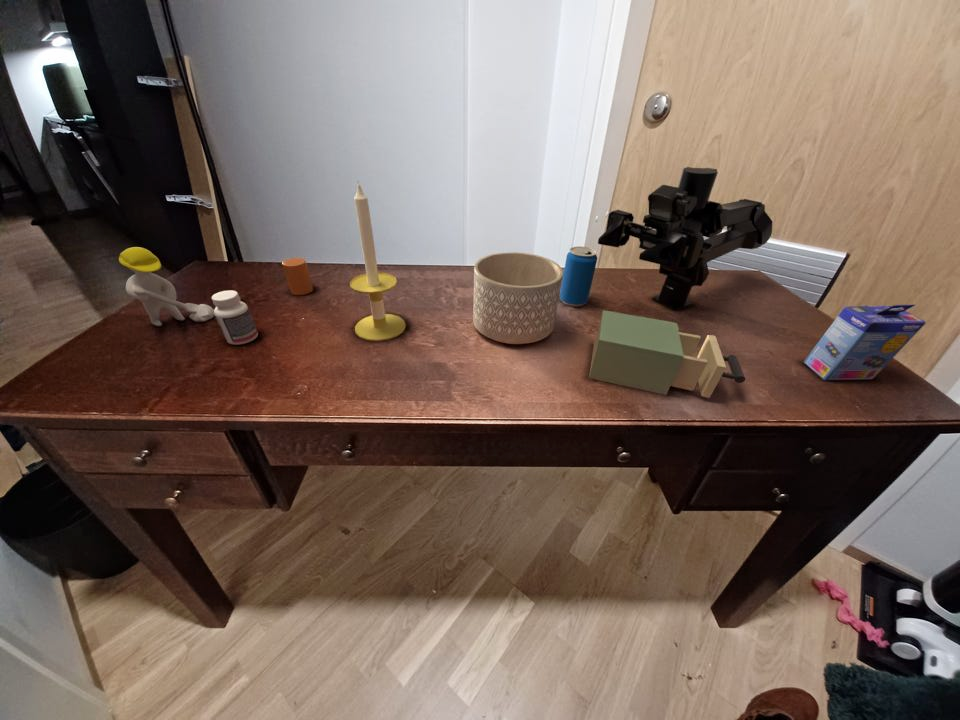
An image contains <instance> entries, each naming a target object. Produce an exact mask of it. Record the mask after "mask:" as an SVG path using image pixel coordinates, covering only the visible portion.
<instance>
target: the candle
mask: <svg viewBox="0 0 960 720" xmlns="http://www.w3.org/2000/svg"><path fill="white" fill-rule="evenodd" d="M356 186H357V187H356V193H355V195H354V197H353V201H354V208H355V213H356V214H355V215H356V219H357V225H358V231H359V237H360V243H361V249H362V255H363V256H362V257H363V262H364V267H365V273H363V274H360V275H358V276H355V277H353V278H352V279H351V280H350V281H349V286H350V289H352V290H353V291H354V292H356V293H359V294H367V295H368V298H369V303H370V310H371V311H370V312H371V315H369V316H366V317H364V318H362V319H361V320H359V321H358V322H357V323H356V324H355V326H354V333H355V335H356V336H358V337H359V338H360V339H363V340H366V341H371V342H381V341H388V340H391V339H394V338H397V337H399V336H400V335H401V334H402V333H404V331H405V330H406V327H407V325H406V322H405V320H404V319H403V318H402V317H400V316H399V315H395V314H391V313H386V311H385V304H384V297H383V293H385V292H388V291H390V290H392V289H393V288H395V287H396V286H397V284H398V280H397V277H395V276H394V275H392V274H390V273H386V272H379V269H378V262H377V256H376V254H377V253H376V248H375V247H376V246H375V241H374V240H375V239H374V234H373V233H374V232H373V228H372V227H373V226H372V220H371V213H370V212H371V211H370V207H369V206H370V205H369V200H368V197H367V196H366V195H365V193H364V191H363V190H362V187H361V184H360V182H359V181H357V185H356Z"/></svg>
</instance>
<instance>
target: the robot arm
mask: <svg viewBox="0 0 960 720" xmlns="http://www.w3.org/2000/svg"><path fill="white" fill-rule="evenodd" d="M718 173H719V172H718V169H717V168H711V167H705V168H704V167H691V166H687V167H683V168H682V171H681V175H680V179H679V182H678V186H671V185H667V184H662V185H660V186H659V187H657V188H656V189H655V190H654V191H652V192H651V193H649V194H648V196H647V201H648V214H646V215H644V216H643V219H642V223H643V224H641V223H637V222H634V218H635V217H634V214H633V213H631V212H628V211H624V210H622V209H615V210H612V211H610V212H609V213H608V217H607V224H606V227H605V232H603V233H602V234H601V235H600V237H598V239H597V244H598V245H601V246H606V247H607V246H608V247H612V248H620V247H624V246H626V244H627V243H628V242H629V240H630V238H631V237H632V238H636V239H638V241H639V245H638V248H639V249H641V250H643V251H641V252H640V253H639V256H638V260H640V261H644V262H649V263H653V264H657V265H659V269H658V273H659V274H661V275H664V276H665V279H664V283H663V284H662V288H661V290H660V292H659V294H658V295H655V296H652V300H653V301H655V302H657V303H659V304H661V305H662V306H665V307H667V308H669V309H671V310H673V311H678V310H681V309H684V308H687V307H689V306H690V307H691V306H692V305H693V302H692V301H690V300H688V299H689V296H690V293H691V291H692V290H693V289H692V288H693V287H696V286H697V287H702V286H703V284H704V283H705V281H706V280H707V278H708V277H709V275H710V271H709V266H708V263H710V262H711V261H714V260H716V259H717V258H721V257H722V256H725V255H727V254H729V253H731V252H734V251H736V250H738V249H744V250H756V249H759V248H761V247H763V246H764V245H765V244H766V243H768V241H769V240H770V238H771V236H772V234H773V220H772V219H771V217H770V216H769V215H768V213H767V212H766V205H765V204H764V203H763V202H761V201H756V200H752V199H748V198H743V199H742V198H741V199H739V200H737V201H732V202H727V203H721V202H716V201H713V200H709V199H710V196H711V194H712V191H713V188H714V185H715V182H716V179H717V177H718ZM725 227H726V230H725V231H723V230H724V228H725ZM704 237H705V238H704Z"/></svg>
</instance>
